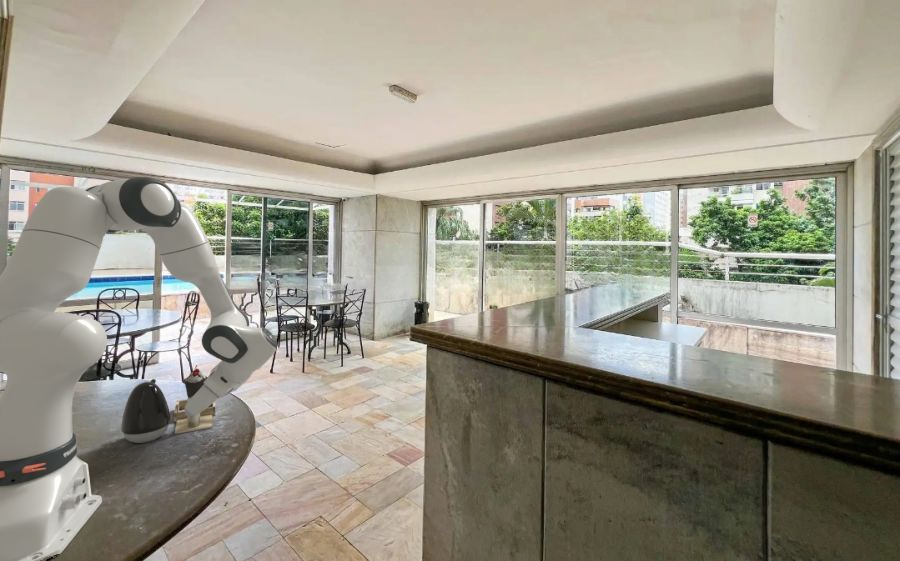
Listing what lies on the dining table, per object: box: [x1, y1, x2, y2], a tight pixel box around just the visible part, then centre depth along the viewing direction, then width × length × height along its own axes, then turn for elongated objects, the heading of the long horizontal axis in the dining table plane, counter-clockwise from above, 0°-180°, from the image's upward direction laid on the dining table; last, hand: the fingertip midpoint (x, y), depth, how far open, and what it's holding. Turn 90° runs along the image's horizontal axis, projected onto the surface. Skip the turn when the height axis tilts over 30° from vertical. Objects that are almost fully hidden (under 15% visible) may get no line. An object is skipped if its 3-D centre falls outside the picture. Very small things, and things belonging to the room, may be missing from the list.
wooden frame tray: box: [173, 396, 216, 435], centre depth 114 cm, size 19×10×8 cm, turn 31°
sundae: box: [181, 364, 208, 398], centre depth 118 cm, size 7×7×15 cm
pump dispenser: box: [120, 378, 171, 444], centre depth 101 cm, size 10×10×15 cm
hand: (191, 410), depth 108 cm, fingers closed on wooden frame tray, 3 cm apart
